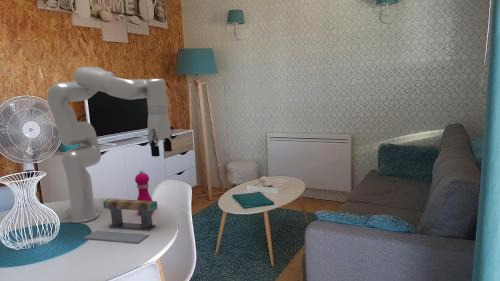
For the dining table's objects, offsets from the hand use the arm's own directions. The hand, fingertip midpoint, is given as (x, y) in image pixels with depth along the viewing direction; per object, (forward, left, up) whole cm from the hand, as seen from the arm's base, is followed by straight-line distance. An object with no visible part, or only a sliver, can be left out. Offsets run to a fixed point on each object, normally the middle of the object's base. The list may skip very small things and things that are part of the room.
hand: (162, 153), depth 152 cm
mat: (-14, -16, -30) cm, 36 cm away
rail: (-14, -5, -22) cm, 26 cm away
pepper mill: (-18, +11, -30) cm, 36 cm away
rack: (-14, -5, -30) cm, 33 cm away
